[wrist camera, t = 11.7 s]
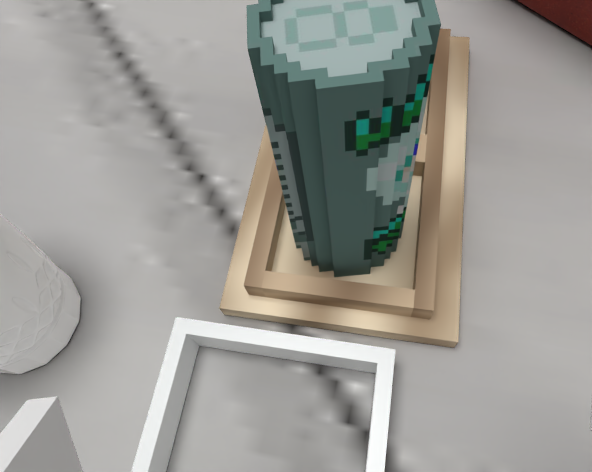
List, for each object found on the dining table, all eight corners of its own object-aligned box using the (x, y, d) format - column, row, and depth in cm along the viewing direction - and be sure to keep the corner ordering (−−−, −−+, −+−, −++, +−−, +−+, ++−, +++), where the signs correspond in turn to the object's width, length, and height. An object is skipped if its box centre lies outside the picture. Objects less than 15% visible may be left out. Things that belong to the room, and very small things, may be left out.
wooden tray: (224, 314, 29) (212, 299, 27) (291, 42, 38) (287, 13, 36) (454, 347, 27) (463, 334, 24) (466, 50, 36) (474, 19, 34)
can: (406, 270, 28) (454, 72, 15) (298, 280, 28) (248, 97, 15) (390, 179, 31) (418, -58, 17) (292, 190, 31) (245, -34, 18)
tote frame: (125, 563, 24) (102, 571, 22) (189, 330, 29) (176, 317, 27) (367, 622, 22) (369, 637, 20) (392, 360, 27) (395, 349, 25)
